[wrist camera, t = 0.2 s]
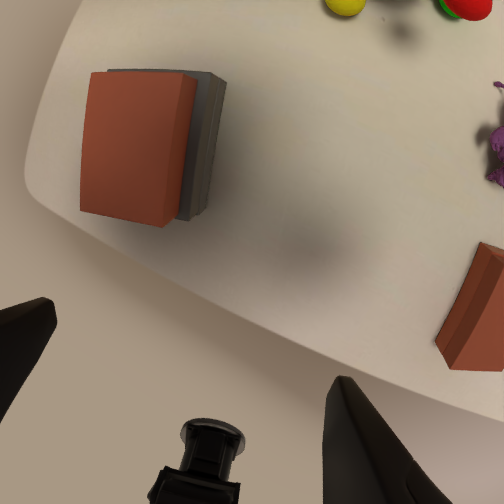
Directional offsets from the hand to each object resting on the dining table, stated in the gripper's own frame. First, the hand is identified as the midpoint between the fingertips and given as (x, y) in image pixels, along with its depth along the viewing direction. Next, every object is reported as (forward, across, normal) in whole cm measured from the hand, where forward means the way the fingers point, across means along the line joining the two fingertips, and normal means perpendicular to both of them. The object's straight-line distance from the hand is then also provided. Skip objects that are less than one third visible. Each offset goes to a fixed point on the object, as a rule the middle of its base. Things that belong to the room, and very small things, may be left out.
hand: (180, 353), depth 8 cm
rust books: (+15, -23, +3) cm, 27 cm away
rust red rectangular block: (+11, +6, -4) cm, 13 cm away
